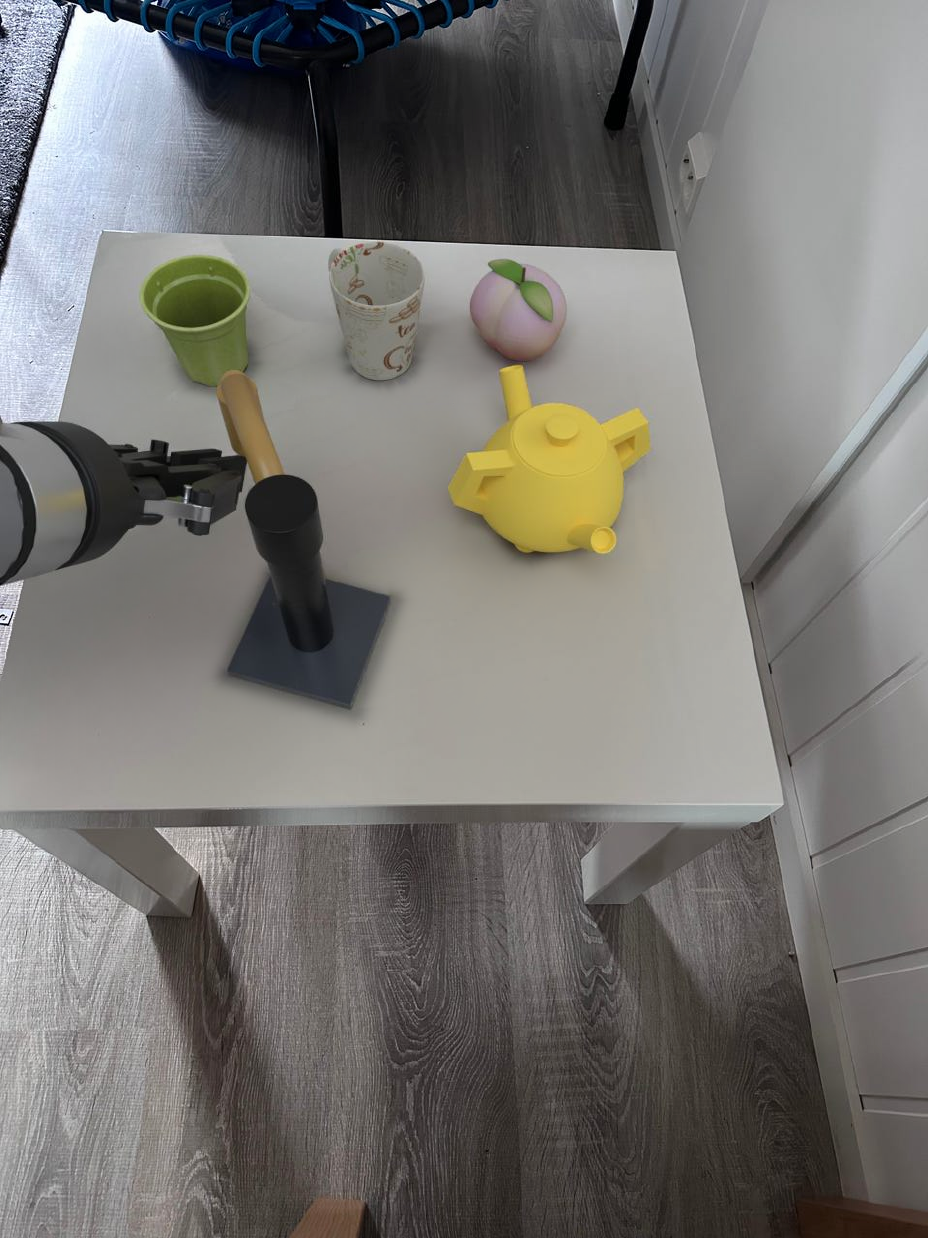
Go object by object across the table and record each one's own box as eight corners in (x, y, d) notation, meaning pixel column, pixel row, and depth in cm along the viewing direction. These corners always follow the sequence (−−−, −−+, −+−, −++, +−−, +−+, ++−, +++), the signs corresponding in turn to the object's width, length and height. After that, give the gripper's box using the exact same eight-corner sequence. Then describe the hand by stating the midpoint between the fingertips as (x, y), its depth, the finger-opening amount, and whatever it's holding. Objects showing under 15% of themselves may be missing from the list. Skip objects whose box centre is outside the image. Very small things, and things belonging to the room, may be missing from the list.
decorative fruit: (576, 355, 84) (596, 272, 75) (521, 398, 81) (535, 316, 72) (508, 306, 87) (519, 220, 78) (452, 345, 84) (457, 260, 75)
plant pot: (185, 414, 78) (161, 342, 70) (151, 347, 81) (124, 272, 74) (280, 381, 80) (266, 308, 73) (242, 317, 84) (226, 242, 76)
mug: (371, 403, 80) (366, 320, 71) (296, 326, 84) (282, 238, 75) (440, 364, 82) (443, 280, 74) (364, 292, 87) (358, 204, 78)
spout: (216, 436, 64) (192, 358, 57) (273, 421, 65) (256, 343, 58) (274, 605, 57) (255, 541, 50) (336, 586, 58) (326, 520, 51)
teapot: (410, 450, 77) (410, 359, 67) (586, 403, 81) (610, 312, 71) (491, 633, 69) (504, 560, 59) (683, 571, 73) (725, 494, 63)
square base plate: (228, 675, 66) (186, 584, 53) (276, 571, 70) (247, 465, 58) (350, 710, 65) (336, 625, 53) (390, 602, 70) (386, 501, 57)
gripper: (169, 459, 40) (325, 444, 63) (-103, 388, 41) (146, 398, 64) (148, 608, 42) (307, 541, 65) (-110, 535, 43) (134, 495, 66)
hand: (227, 470), depth 64 cm, fingers closed
